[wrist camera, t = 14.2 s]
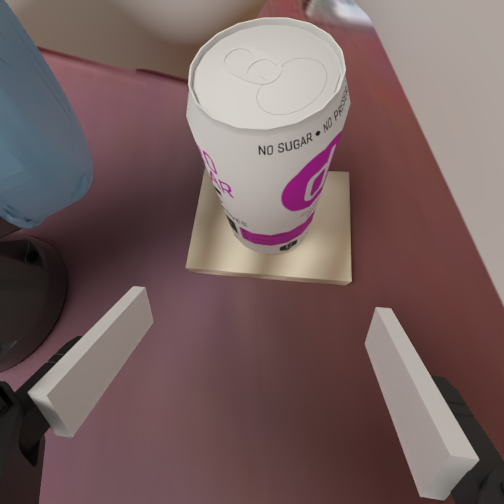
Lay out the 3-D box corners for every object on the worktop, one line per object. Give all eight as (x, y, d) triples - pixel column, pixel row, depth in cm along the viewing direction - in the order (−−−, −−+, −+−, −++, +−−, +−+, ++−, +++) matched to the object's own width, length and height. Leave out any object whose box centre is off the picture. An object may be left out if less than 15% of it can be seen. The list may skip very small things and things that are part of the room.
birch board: (191, 272, 26) (185, 268, 24) (209, 177, 29) (205, 167, 28) (345, 285, 24) (351, 281, 22) (344, 182, 28) (349, 171, 26)
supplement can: (326, 211, 25) (397, 45, 10) (277, 272, 23) (281, 177, 9) (264, 172, 27) (252, -9, 13) (215, 226, 25) (138, 88, 11)
